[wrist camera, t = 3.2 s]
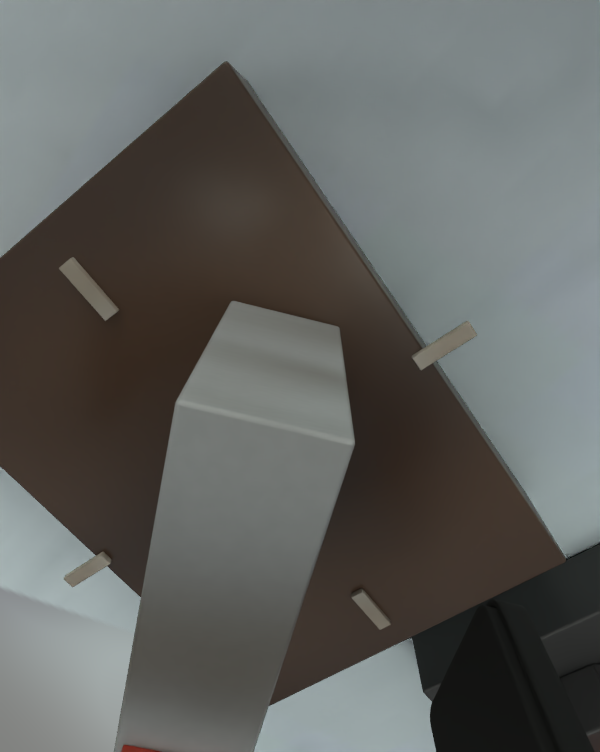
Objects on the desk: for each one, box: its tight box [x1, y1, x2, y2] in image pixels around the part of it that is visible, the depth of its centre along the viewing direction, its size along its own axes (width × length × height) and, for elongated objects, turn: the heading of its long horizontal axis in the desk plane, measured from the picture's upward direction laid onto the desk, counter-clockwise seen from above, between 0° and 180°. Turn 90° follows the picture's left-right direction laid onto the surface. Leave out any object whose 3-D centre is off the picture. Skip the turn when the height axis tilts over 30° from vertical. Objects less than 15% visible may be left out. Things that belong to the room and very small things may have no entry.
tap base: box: [0, 61, 566, 706], centre depth 14 cm, size 14×12×3 cm
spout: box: [114, 301, 355, 752], centre depth 11 cm, size 8×2×5 cm, turn 166°
